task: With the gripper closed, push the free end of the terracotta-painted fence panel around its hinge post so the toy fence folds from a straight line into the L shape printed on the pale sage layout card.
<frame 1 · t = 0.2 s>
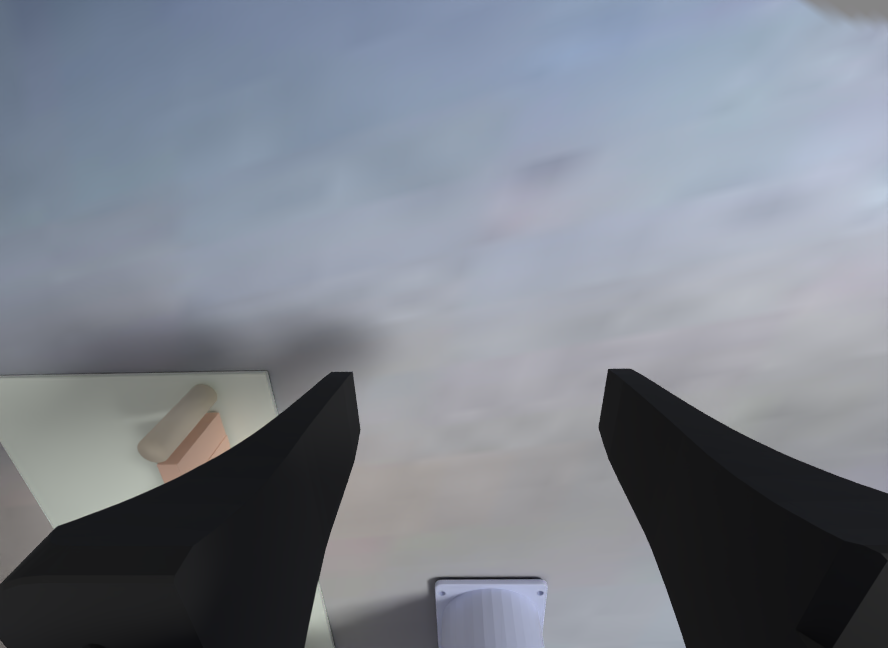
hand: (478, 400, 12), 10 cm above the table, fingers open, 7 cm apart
layout card: (186, 540, 29), on the table
fence panel: (208, 497, 23), point 3 cm above the table, hinge at 0.0°
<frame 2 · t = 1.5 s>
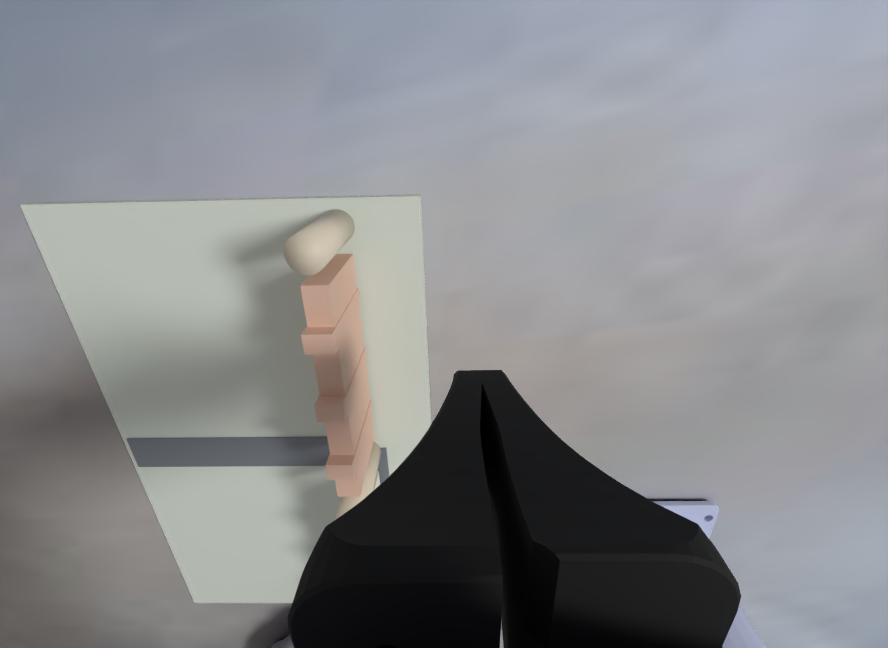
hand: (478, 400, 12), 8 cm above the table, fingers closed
layout card: (280, 447, 24), on the table
fence panel: (340, 361, 18), point 3 cm above the table, hinge at 0.0°
fence fixed: (369, 446, 24), resting on layout card
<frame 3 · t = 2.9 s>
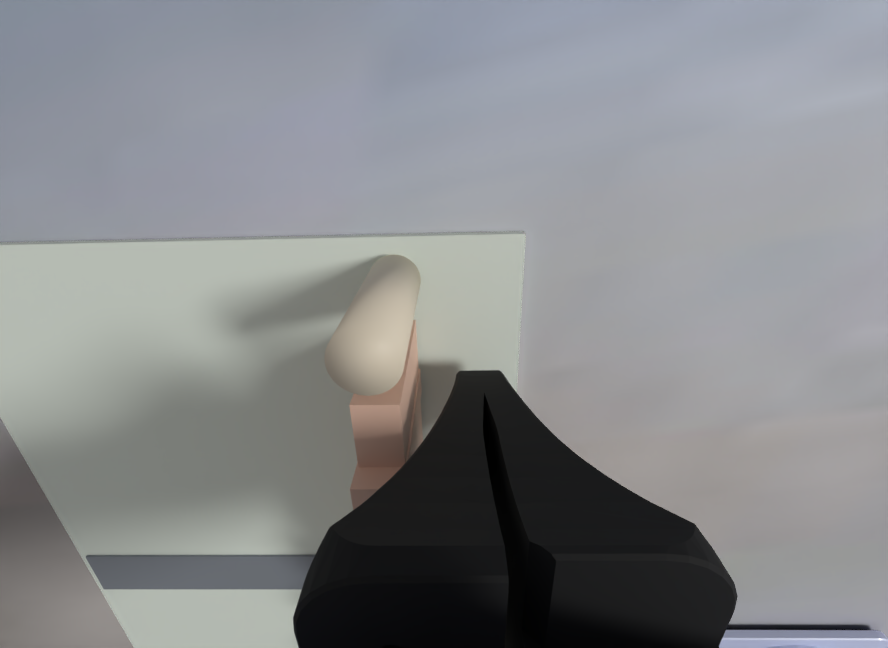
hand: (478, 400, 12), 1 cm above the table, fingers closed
layout card: (297, 564, 17), on the table
fence panel: (399, 490, 12), point 3 cm above the table, hinge at 0.0°, touching gripper
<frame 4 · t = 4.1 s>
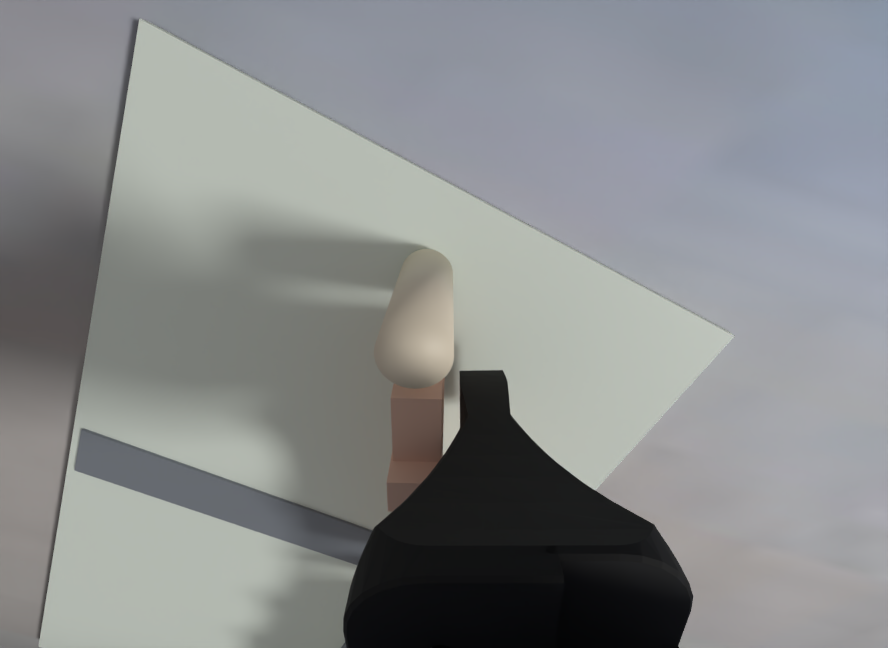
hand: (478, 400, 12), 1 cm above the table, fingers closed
layout card: (309, 520, 16), on the table
fence panel: (421, 485, 11), point 3 cm above the table, hinge at 25.6°, touching gripper
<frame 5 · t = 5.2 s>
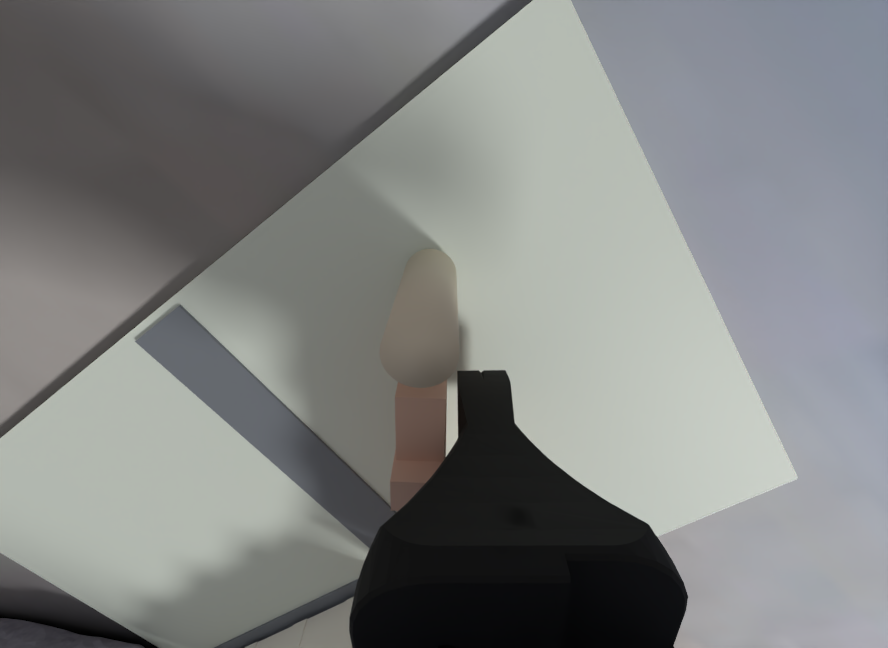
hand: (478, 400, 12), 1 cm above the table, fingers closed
layout card: (344, 485, 15), on the table
fence panel: (423, 485, 11), point 3 cm above the table, hinge at 52.8°, touching gripper
fence fixed: (425, 561, 17), resting on layout card
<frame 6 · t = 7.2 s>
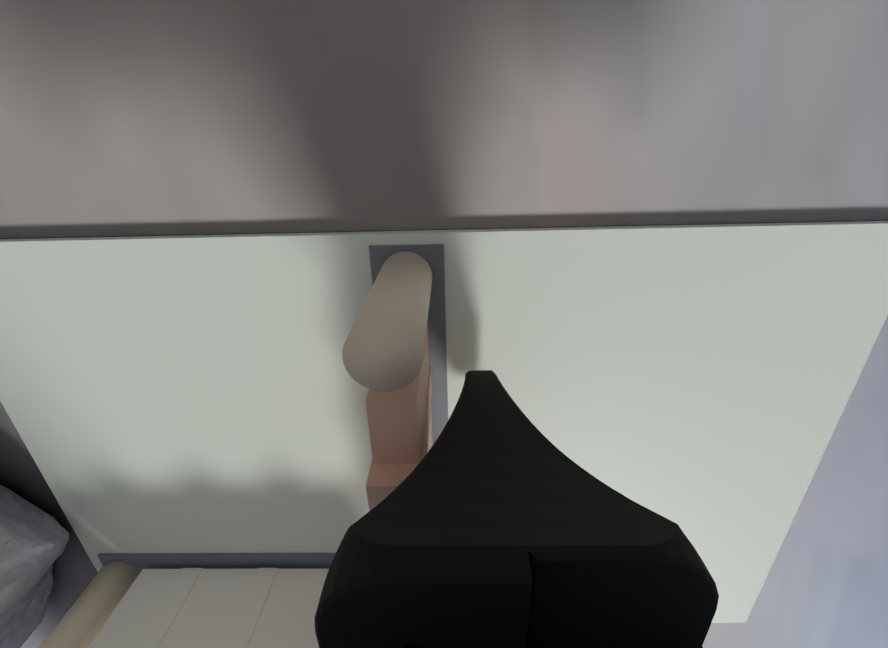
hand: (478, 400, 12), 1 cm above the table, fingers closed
layout card: (421, 469, 15), on the table
fence panel: (410, 487, 12), point 3 cm above the table, hinge at 90.1°, touching gripper
fence fixed: (427, 562, 17), resting on layout card
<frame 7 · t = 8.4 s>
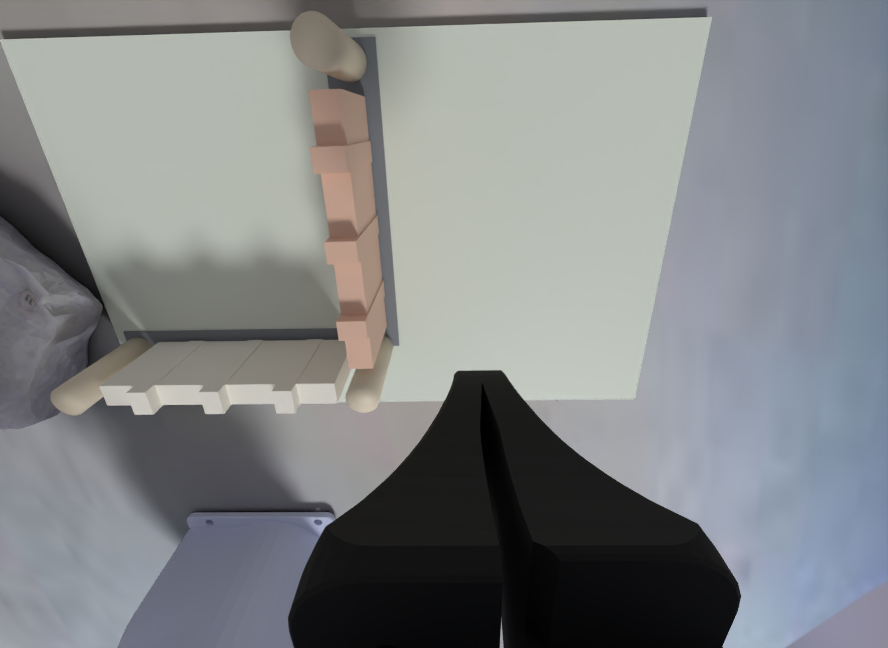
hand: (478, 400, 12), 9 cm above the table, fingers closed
layout card: (371, 247, 20), on the table
fence panel: (352, 212, 16), point 3 cm above the table, hinge at 90.3°
fence fixed: (380, 342, 22), resting on layout card
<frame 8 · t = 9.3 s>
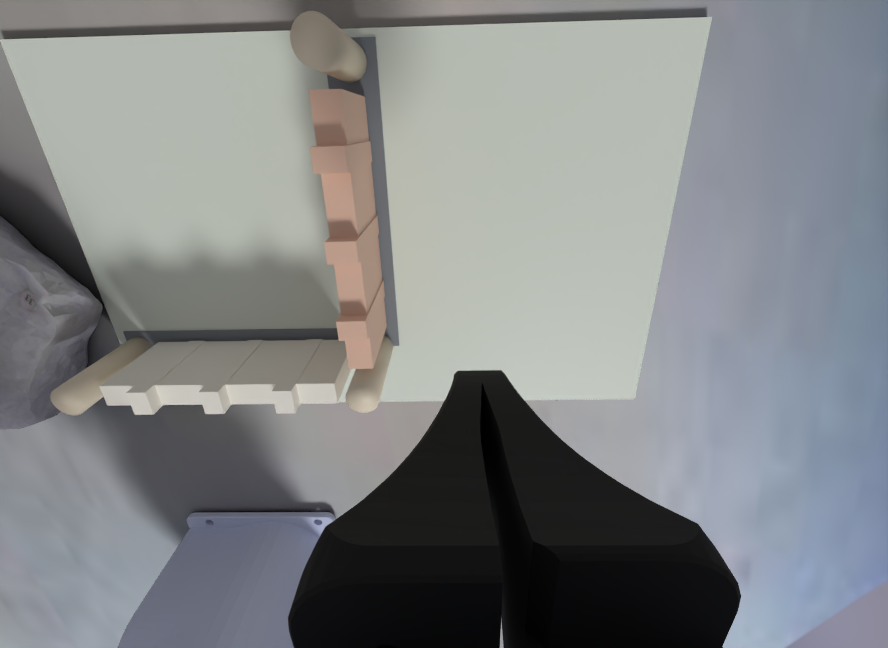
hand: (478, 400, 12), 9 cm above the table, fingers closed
layout card: (371, 247, 20), on the table
fence panel: (352, 212, 16), point 3 cm above the table, hinge at 90.3°
fence fixed: (380, 342, 22), resting on layout card
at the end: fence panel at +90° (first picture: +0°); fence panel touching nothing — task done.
